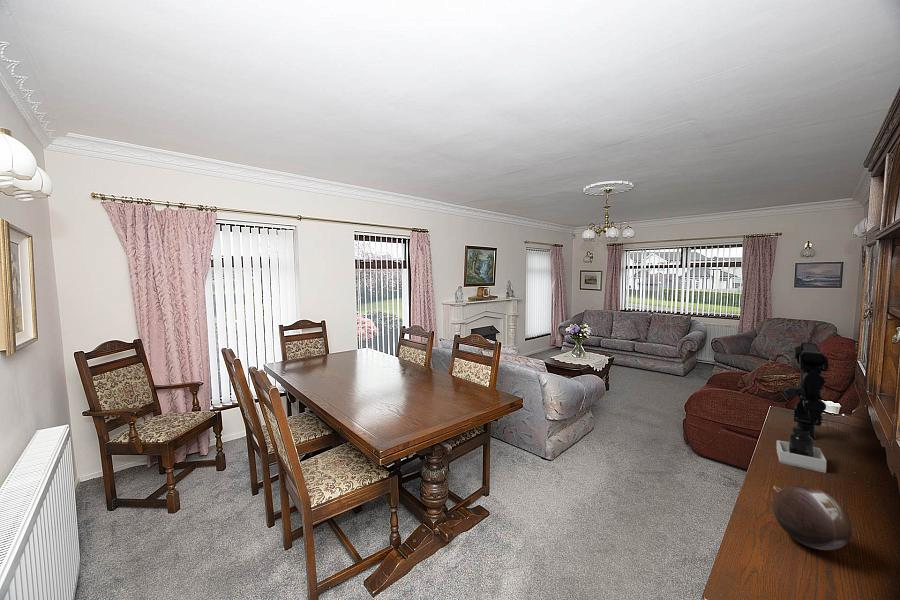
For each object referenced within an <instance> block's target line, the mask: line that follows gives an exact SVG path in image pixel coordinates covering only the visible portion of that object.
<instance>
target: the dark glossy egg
mask: <svg viewBox="0 0 900 600" xmlns="http://www.w3.org/2000/svg"><path fill="white" fill-rule="evenodd" d="M778 491H779V492H776V495H775V497H774V500H773V504H772V506H773V507H772V508H773V514H774V516H775V518H776V521H777V522H778V524H779V526H780V527H781V528H782V530H784V531H785V533H786V534H787V535H788V536H790V537H791V538H792V539H794V540H795V541H796V542H798V543H801V545H804V546H806V547H808V548H812V549H816V550H821V551H833V550H834V551H835V550H837V549H841V548H842V547H844V546H845V545H847V544H848V543H849V541H850V539H851V538H852V534H853V525H852V520H851V518H850V516H849V514H848V512H847V511H846V510H845V508H844V506H842V504H841V503H840V502H839V501H837V500H836V499H835V498H834V497H833V496H831V495H830V494H828V493H826V491H822V490H820V489H818V488H815V487H813V486H809V485H804V484H803V485H802V484H800V485H799V484H796V485H795V484H794V485H789V486H786V487H783V488H782V489H781V491H780V490H778Z"/></svg>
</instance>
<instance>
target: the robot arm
mask: <svg viewBox="0 0 900 600" xmlns="http://www.w3.org/2000/svg"><path fill="white" fill-rule="evenodd" d="M793 353H794V354H793V355H794V358H793V359H794V360H795V361H796V365H797V366H798V367H799V370H800V383H799V385H796V386H795V385H794V386H789V387H788V386H787V387H783V388H782V389H783V392H784V394H785V396H786V398H788V399H789V398H792V397H798V400H799V401H798V402H797V404H796V405H795V408H793V413H792V415H793V416H792V419H793V422H796V426H798V427H804V428H807V429H809V430H810V435H809V436H810V437H812V439H813V440H817V436H816V434H815V433H816V432H815V431H816V426H817V427H820V426H822V420H823V416H822V414H823V413H824V412H825V410H827V405H826V402H824V401H823V396H822V390H823V389H824V388H823V387H824V385H825V383H826V381H825V377H824V376H823V372H825V373H826V372H828V370H829V358H828V357H827V356H826V355H824V353H823V352H821V349H820V348H819V347H818V346H817V343H815V342H801V343H800V345H798V346H796V347H794V352H793Z"/></svg>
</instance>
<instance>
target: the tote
mask: <svg viewBox="0 0 900 600" xmlns="http://www.w3.org/2000/svg"><path fill="white" fill-rule="evenodd" d="M776 450H777V451H776V454H777V458H778V461H779V463H780V464H783V465H787V466H793V467H797V468H802V469H806V470H811V471H815V472H819V473H825V474H827V459H826V458H825V456H824V454H823V452H822V449H821V448H820V447H815V446H813V457H808V456H803V455H798V454H793V453H789V441H783V440H776Z"/></svg>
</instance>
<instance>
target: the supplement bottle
mask: <svg viewBox="0 0 900 600" xmlns="http://www.w3.org/2000/svg"><path fill="white" fill-rule="evenodd" d="M809 435H810V430H809V429H807V428H804V427H798V426H797V425H796V426H792V433H790V434H789V435H788V436H789V437H788V442H789V453H793V454H798V455H803V456H808V457H813V447H814V439H812V437H810V436H809Z"/></svg>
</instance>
